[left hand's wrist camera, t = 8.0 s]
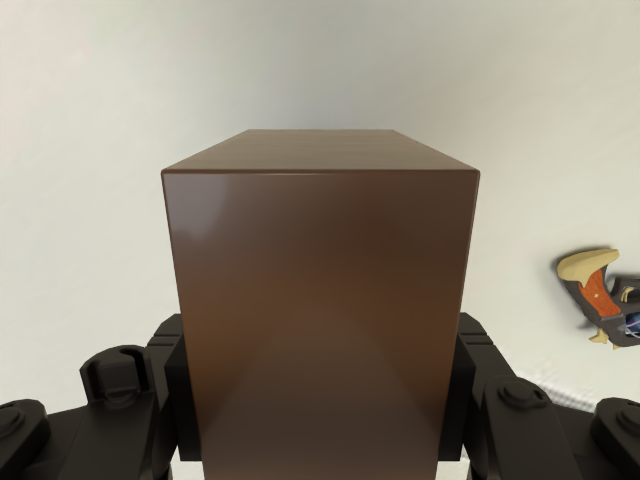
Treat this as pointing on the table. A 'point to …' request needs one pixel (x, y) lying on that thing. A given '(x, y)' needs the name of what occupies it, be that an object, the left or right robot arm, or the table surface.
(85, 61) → the table surface
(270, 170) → the beam
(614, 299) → the toy gun
